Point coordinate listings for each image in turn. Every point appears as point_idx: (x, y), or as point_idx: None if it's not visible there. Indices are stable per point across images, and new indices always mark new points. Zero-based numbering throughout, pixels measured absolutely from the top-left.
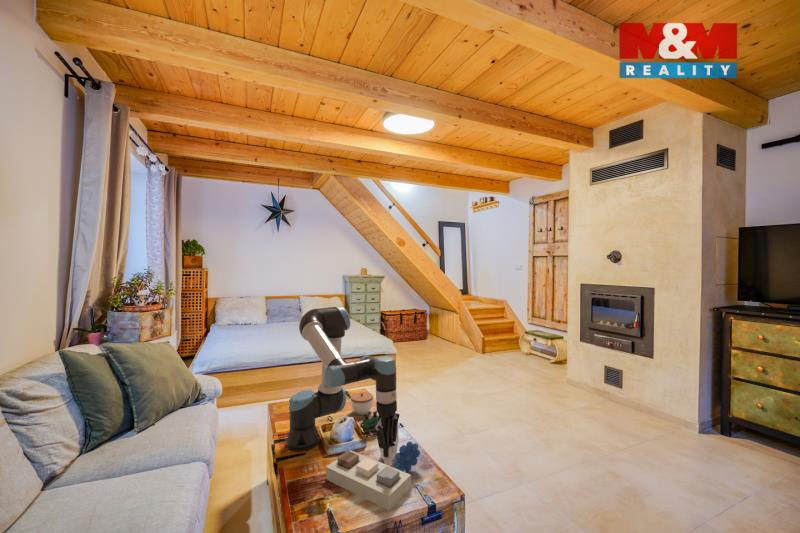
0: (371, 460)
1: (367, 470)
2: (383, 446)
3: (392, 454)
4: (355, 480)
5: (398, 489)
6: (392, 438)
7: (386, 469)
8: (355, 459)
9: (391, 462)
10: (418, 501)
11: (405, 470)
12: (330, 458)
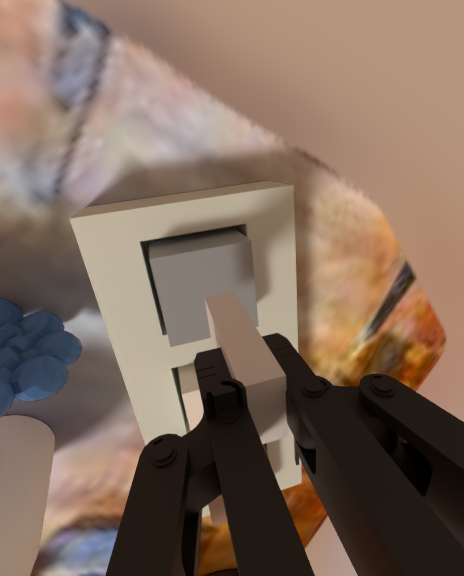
0: (192, 426)
1: None
2: (428, 404)
3: (7, 435)
4: None
5: (206, 196)
6: (243, 486)
7: (192, 325)
8: None
9: (218, 303)
10: (130, 104)
11: (22, 315)
12: (206, 518)
